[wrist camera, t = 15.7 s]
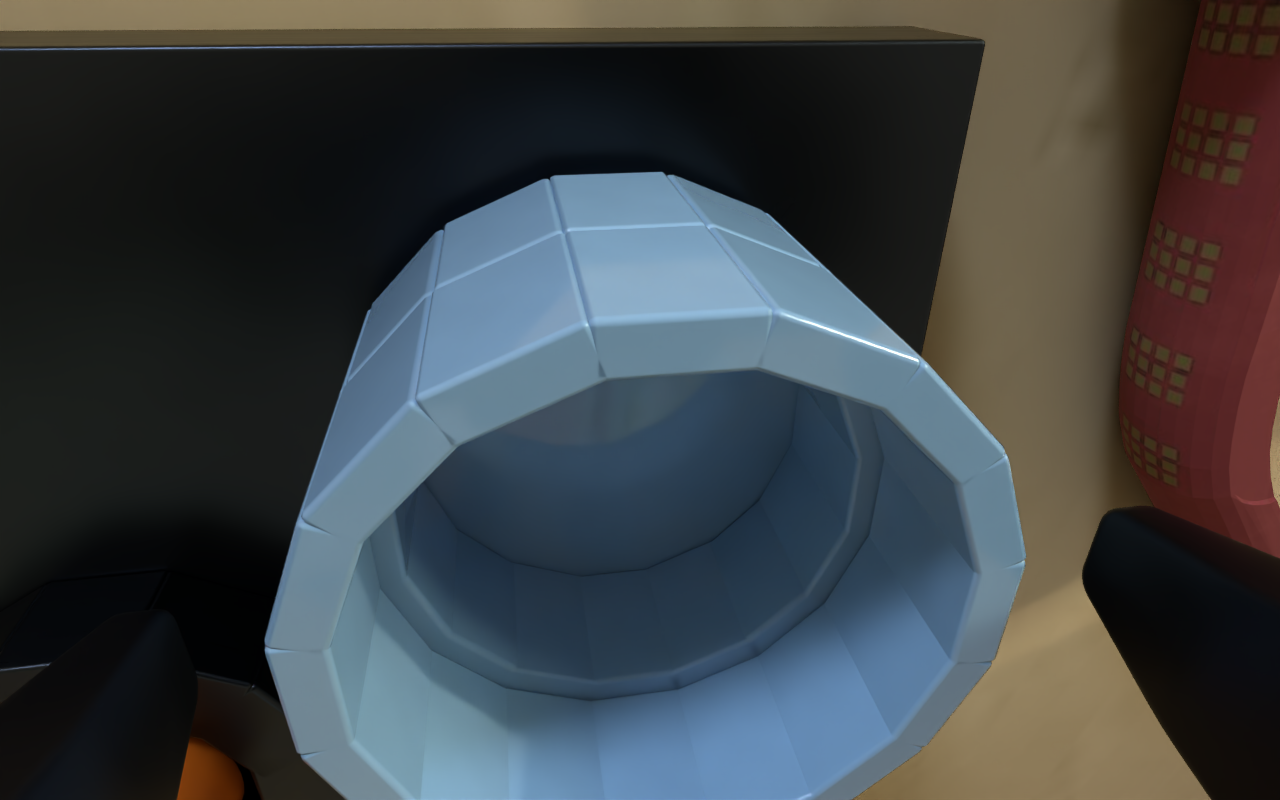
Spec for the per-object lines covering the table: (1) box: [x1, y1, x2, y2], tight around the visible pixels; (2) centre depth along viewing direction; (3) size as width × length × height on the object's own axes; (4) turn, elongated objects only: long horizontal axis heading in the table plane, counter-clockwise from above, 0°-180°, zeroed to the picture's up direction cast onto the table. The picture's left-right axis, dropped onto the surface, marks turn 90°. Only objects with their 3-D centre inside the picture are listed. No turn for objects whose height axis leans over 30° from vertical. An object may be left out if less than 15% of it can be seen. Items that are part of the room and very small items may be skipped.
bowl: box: [264, 172, 1026, 800], centre depth 9 cm, size 7×7×4 cm
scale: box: [0, 26, 985, 800], centre depth 11 cm, size 14×12×4 cm
